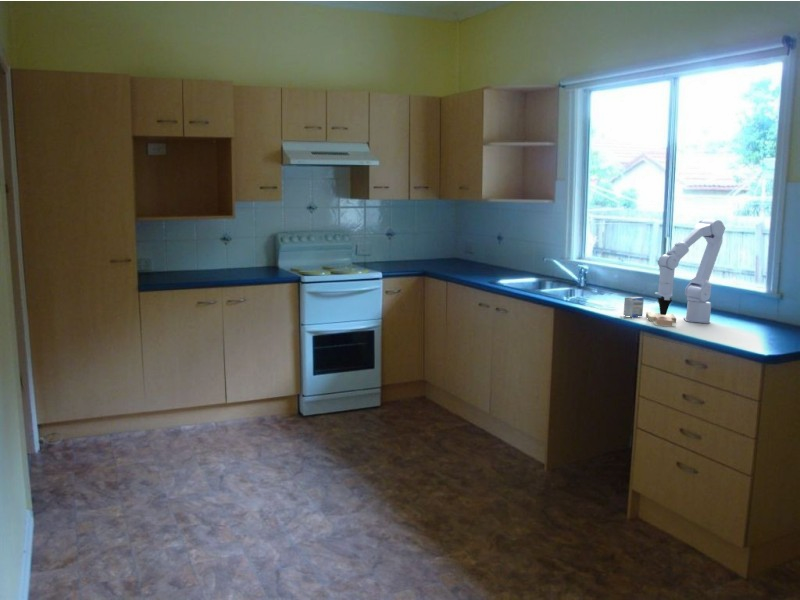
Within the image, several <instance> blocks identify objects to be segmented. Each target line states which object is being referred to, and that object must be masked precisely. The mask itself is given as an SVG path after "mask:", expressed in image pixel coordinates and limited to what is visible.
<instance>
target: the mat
mask: <svg viewBox="0 0 800 600" xmlns="http://www.w3.org/2000/svg"><path fill="white" fill-rule="evenodd" d="M653 322H654V323H653ZM652 323H653V325H654V326H657V325H658V324H657V323H656V322H655V321H652ZM660 326H661V327H671V325H660ZM672 326H673V328H676V325H675V323H673V325H672Z"/></svg>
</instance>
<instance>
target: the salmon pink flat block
mask: <svg viewBox="0 0 800 600" xmlns="http://www.w3.org/2000/svg"><path fill="white" fill-rule="evenodd" d="M655 322H656V323H657V324H658V325H671V326H672V325H673V324H674V323H673V320H672V319H671V318H670V317H659V316H655ZM671 326H670V327H671Z"/></svg>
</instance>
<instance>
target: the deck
mask: <svg viewBox="0 0 800 600" xmlns="http://www.w3.org/2000/svg"><path fill="white" fill-rule="evenodd" d="M645 316H646V319H647V318H648V319H647V321H649V320H651V321H650V322H653V321H655V316H659V317H670V318H671V319H672V320H673V324H676V323H677V317H676V316H675V315H674V314H671V313H666V315H661V314H660V312H659V313H658V312H648V311H647V312H646V315H645Z"/></svg>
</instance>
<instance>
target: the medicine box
mask: <svg viewBox="0 0 800 600" xmlns="http://www.w3.org/2000/svg"><path fill="white" fill-rule="evenodd" d="M644 299H645V298H644V296H643V297H642V296H628V297H627V296H626V297H624V301H623V302H624V303H623V304H624V306H623V315H625V316H630V317H636V318H639V317H638V316H642V317H643V314H644V313H643V311H644V302H645V301H644Z"/></svg>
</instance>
